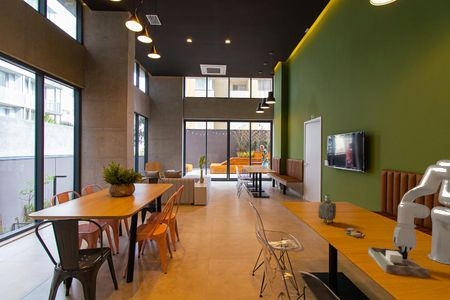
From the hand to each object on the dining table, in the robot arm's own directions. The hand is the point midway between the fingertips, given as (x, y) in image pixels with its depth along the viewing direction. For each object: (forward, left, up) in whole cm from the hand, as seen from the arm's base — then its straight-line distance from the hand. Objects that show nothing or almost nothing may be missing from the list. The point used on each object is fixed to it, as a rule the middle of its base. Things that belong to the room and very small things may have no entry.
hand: (403, 258), depth 138 cm
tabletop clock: (+25, -71, -4) cm, 75 cm away
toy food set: (+11, -47, -4) cm, 48 cm away
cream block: (+5, -1, -2) cm, 5 cm away
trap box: (+4, 0, -4) cm, 6 cm away
